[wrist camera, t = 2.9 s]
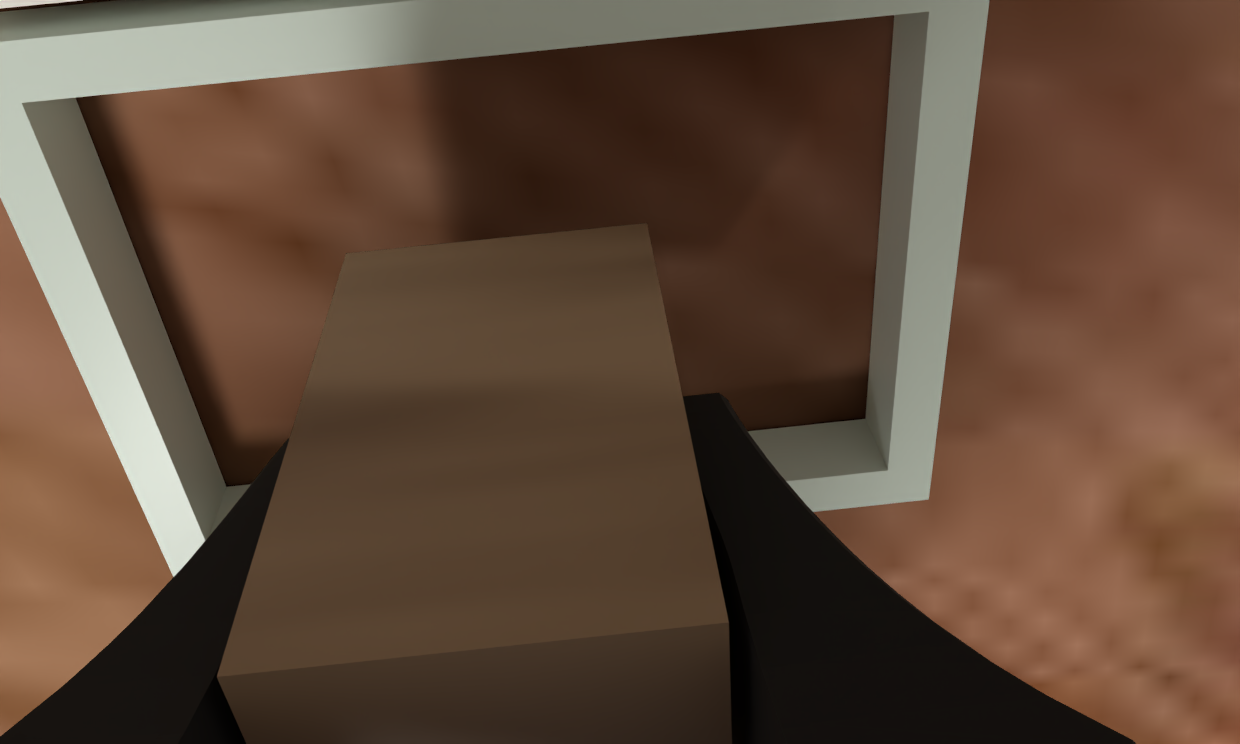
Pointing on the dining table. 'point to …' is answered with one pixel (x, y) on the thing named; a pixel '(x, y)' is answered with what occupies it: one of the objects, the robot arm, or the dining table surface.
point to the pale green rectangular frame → (435, 31)
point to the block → (488, 513)
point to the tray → (28, 2)
